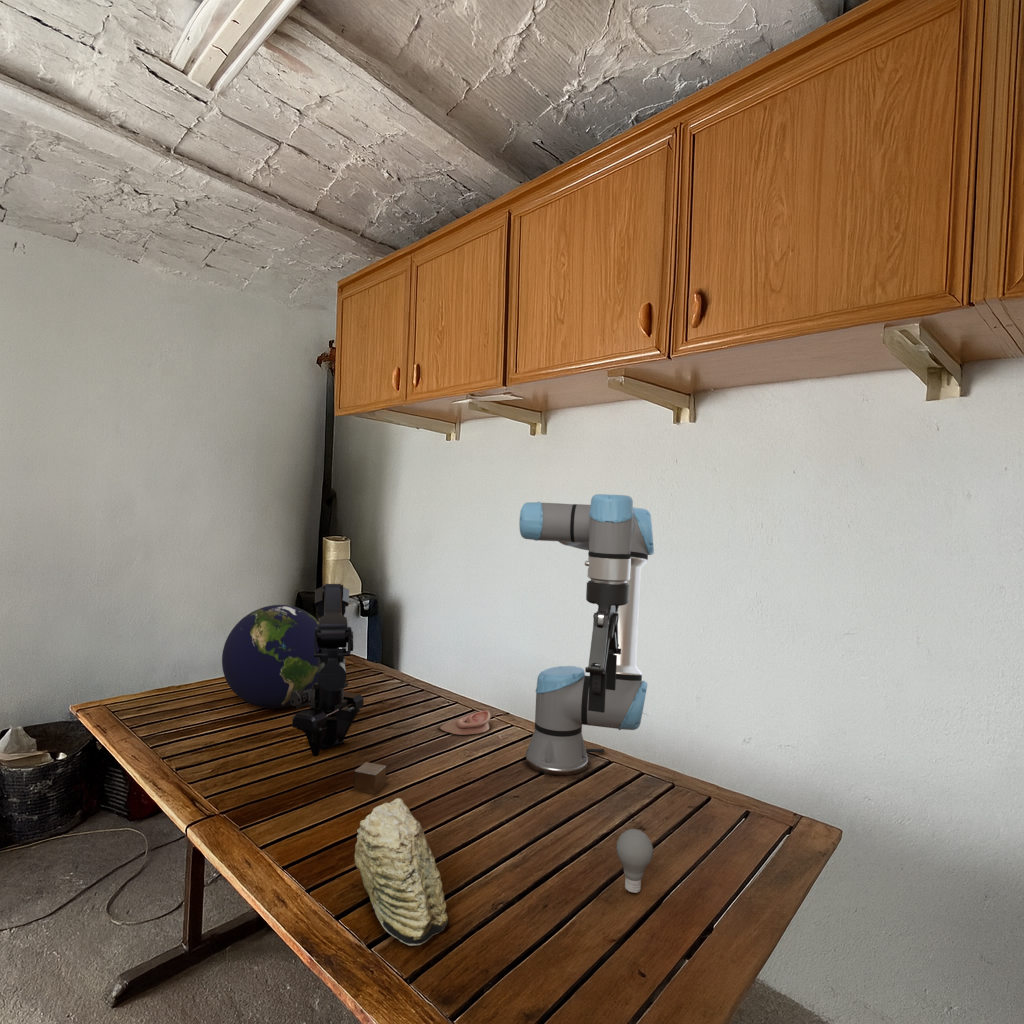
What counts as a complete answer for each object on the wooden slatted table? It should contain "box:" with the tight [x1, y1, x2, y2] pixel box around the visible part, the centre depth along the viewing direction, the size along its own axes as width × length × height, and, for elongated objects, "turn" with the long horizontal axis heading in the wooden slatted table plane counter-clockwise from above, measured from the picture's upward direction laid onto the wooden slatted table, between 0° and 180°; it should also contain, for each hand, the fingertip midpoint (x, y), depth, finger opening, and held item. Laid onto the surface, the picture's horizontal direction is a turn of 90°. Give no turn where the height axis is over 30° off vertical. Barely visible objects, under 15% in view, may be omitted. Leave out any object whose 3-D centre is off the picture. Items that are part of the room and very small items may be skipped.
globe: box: [221, 604, 322, 709], centre depth 188 cm, size 30×30×30 cm
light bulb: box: [615, 828, 654, 894], centre depth 106 cm, size 6×6×10 cm
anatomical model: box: [439, 709, 491, 736], centre depth 177 cm, size 13×4×12 cm
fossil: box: [354, 797, 449, 947], centre depth 98 cm, size 9×18×15 cm, turn 46°
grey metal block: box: [353, 761, 387, 795], centre depth 139 cm, size 5×5×4 cm
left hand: (328, 748), depth 140 cm, fingers open, 9 cm apart
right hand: (602, 699), depth 113 cm, fingers open, 13 cm apart
